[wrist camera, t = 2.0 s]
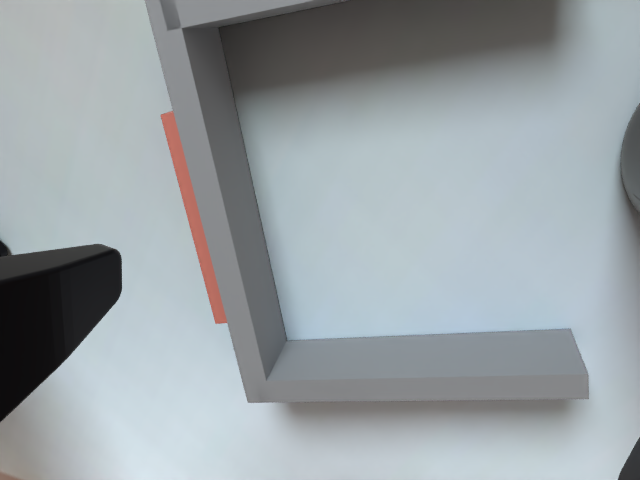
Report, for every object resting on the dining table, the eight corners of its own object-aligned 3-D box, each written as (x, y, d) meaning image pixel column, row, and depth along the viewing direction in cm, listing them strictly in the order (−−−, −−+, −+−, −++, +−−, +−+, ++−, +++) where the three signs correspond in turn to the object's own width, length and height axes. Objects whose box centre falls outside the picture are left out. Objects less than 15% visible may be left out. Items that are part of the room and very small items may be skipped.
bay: (257, 361, 25) (234, 402, 22) (171, 6, 20) (127, 3, 17) (571, 351, 22) (588, 399, 19) (558, -79, 17) (580, -99, 14)
